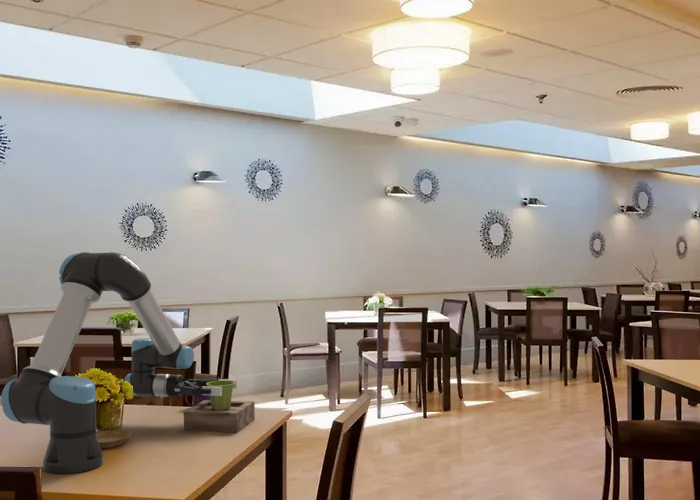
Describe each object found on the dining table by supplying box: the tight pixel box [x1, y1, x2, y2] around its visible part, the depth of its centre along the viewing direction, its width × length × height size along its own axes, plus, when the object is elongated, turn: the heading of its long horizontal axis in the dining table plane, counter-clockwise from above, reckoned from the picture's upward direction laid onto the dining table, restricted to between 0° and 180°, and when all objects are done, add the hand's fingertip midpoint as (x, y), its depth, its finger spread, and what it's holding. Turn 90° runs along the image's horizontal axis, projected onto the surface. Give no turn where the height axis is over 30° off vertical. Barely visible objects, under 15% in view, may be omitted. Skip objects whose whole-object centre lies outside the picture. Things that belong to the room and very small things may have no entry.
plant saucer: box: [96, 429, 132, 449], centre depth 222 cm, size 15×15×3 cm
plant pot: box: [206, 380, 235, 411], centre depth 246 cm, size 9×9×9 cm
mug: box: [184, 388, 210, 407], centre depth 272 cm, size 7×10×7 cm
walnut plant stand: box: [183, 400, 256, 433], centre depth 245 cm, size 18×18×6 cm
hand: (229, 387), depth 244 cm, fingers open, 13 cm apart
